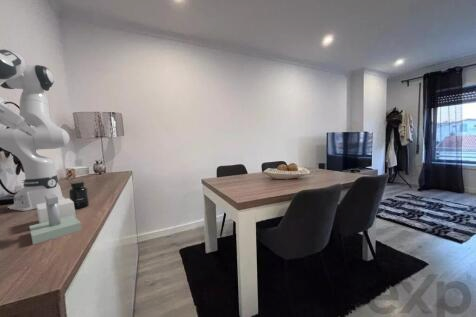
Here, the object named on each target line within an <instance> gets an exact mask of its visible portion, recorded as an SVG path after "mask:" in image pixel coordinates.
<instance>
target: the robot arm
mask: <svg viewBox="0 0 476 317" xmlns="http://www.w3.org/2000/svg"><path fill="white" fill-rule="evenodd" d="M54 83H55V81H54V74H53V73H52V71H50V69H49V68H48V67H46V66H45V65H41V64H40V65H39V64H35V65H31V64H27V62H26V60H25V58H24V57H23V56H22V55H21V54H19V53H18V52H16V51H13V50H10V49H9V50H8V49H5V48H4V49H0V87H1V88H3V89H6V90H15V89H17V90H22V92H21V94H20V98H19V114H18V113H17V112H15V111H14V110H12V109H10V108H9V106H8V105H7V104H6V103H7V100H6V99H5V98H3V97H2V96H0V124H1V125H3V126H6V127H7V128H2V129H0V148H1V149H3V150H4V151H7V152H10V153H11V154H13V155H14V156H15V157H17V159H18V160H19V161H20V163H21V165H22V169H23V171H24V176H25V178H24V179H23V180H22V181H21V183H22V184H23V187H22V188H20V190H19V191H18V192H16V193H15V194H14V196H13V204H11V205H9V206H7V209H8V208H9V210H15V211H21V212H22V211H23V212H24V211H31V210H35V209H36V210H37V206H36V204H41V203H46V199H45V195H49V194H55V195H56V196H57V197H58V200H62V199H66V197H64V196H63V193H62V189H61V186H60V184H59V183H58V182H59V177H58V175H57V173H56V172H57V171H56V166H55V165H56V164H55V162H54V160H53V159H51V158H49V157H47V156H44V155H40V154H38V153H37V151H39V150H54V149H61V148H64V147H67V146H68V145H69V142H70V139H71V137H70V134H69V133H68V131H66V129H64V128H62V127H60V126H58V125H57V124H55V123H54V122H53V121H52V118H51V112H50V103H49V99H48V96H47V94H46V92H48V91H50V88H52V87H53V84H54Z"/></svg>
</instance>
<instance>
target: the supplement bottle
mask: <svg viewBox="0 0 476 317" xmlns="http://www.w3.org/2000/svg"><path fill="white" fill-rule="evenodd" d="M70 187H71V188H70V189H69V190H68V195H69V199H70V200H72V201H73V202H74V208H75V210H80V209H84V208H87V207H88V206H89V205H90V203H89V192H88V188H87V187H86V186H85V182H84V181H75V182H71V183H70Z"/></svg>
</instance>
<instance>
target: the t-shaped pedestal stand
mask: <svg viewBox="0 0 476 317" xmlns="http://www.w3.org/2000/svg"><path fill="white" fill-rule="evenodd" d="M45 199H46V207H47V213H48V220H49V221H48V222H44V223H36V224H32V225H29V233H30V237H31V241H32V245H36V244H40V243H43V242H46V241H50V240H53V239H56V238H60V237H63V236H67V235H69V234H73V233H77V232H81V231H82V230H83V229H82V222H81V221H80V220H79V219H78V217H75V216H74V215H72V216H68V217H64V218H60V213H59V206H58V197H57V196H56V195H55V194H49V195H45Z"/></svg>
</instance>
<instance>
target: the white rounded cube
mask: <svg viewBox="0 0 476 317" xmlns="http://www.w3.org/2000/svg"><path fill="white" fill-rule="evenodd" d="M36 206H37V209H36V212H37V218H38V224H40V223H44V222H48V221H49V220H48V213H47V207H46V203H41V204H36ZM58 206H59V213H60V218H64V217H68V216H72V215H74V216H75V217H76V209H75V208H74V202H73V201H72V200H70V197H69V198H68V197H67V198H65V199H62V200H58ZM76 218H77V217H76Z"/></svg>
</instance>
